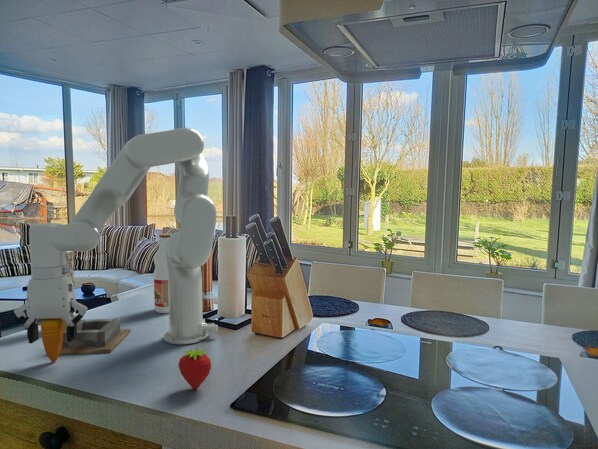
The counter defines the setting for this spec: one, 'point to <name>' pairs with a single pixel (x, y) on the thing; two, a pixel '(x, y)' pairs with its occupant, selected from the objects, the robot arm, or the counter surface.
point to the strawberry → (195, 367)
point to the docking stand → (95, 337)
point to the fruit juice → (161, 276)
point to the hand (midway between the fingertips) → (52, 340)
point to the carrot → (52, 337)
